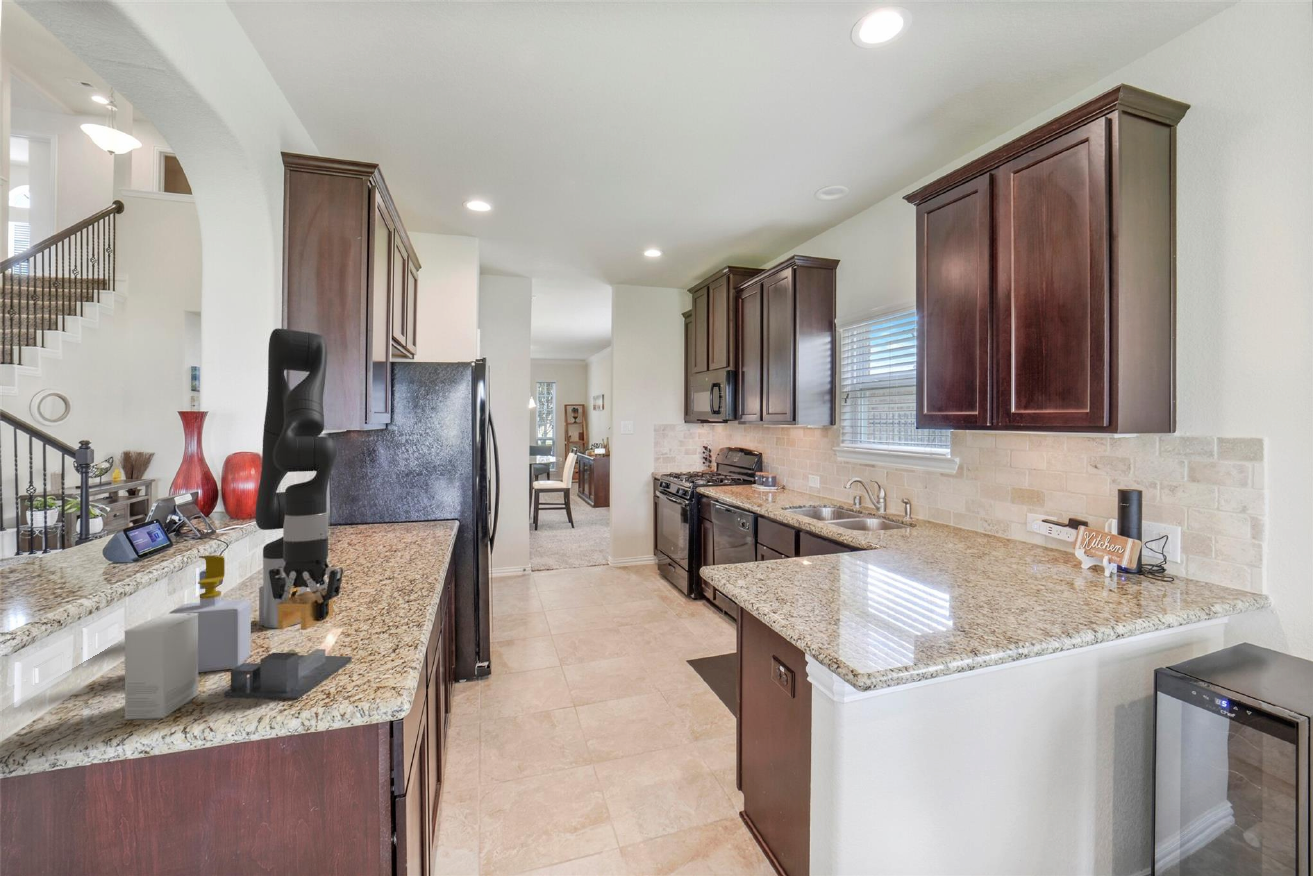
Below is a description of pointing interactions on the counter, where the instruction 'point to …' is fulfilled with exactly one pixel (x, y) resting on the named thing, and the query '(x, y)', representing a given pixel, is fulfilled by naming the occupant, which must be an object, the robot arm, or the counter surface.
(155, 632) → the skincare box
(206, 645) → the soap bottle
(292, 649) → the pin
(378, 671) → the counter surface
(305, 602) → the block
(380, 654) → the counter surface
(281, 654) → the stand
